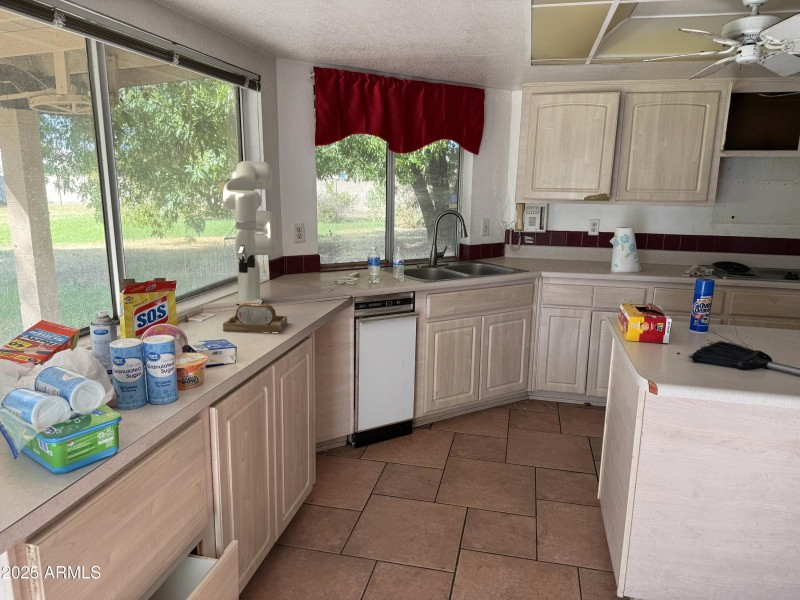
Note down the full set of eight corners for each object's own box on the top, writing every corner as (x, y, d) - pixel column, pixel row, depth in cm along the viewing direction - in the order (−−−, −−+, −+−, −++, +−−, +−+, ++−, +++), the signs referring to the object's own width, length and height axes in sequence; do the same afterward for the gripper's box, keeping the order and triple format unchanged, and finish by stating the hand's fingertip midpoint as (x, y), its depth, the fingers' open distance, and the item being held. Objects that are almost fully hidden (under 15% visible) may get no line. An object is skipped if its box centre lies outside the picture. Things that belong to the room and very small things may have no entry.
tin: (276, 324, 210) (276, 303, 208) (274, 326, 206) (273, 305, 205) (237, 322, 210) (237, 301, 208) (235, 324, 207) (234, 303, 205)
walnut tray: (236, 320, 216) (235, 313, 215) (287, 323, 215) (287, 316, 215) (223, 331, 202) (222, 323, 201) (277, 333, 201) (277, 326, 201)
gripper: (243, 222, 212) (244, 265, 216) (228, 228, 195) (230, 274, 200) (262, 223, 212) (262, 266, 216) (249, 229, 195) (250, 275, 200)
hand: (247, 269), depth 208 cm, fingers open, 9 cm apart
